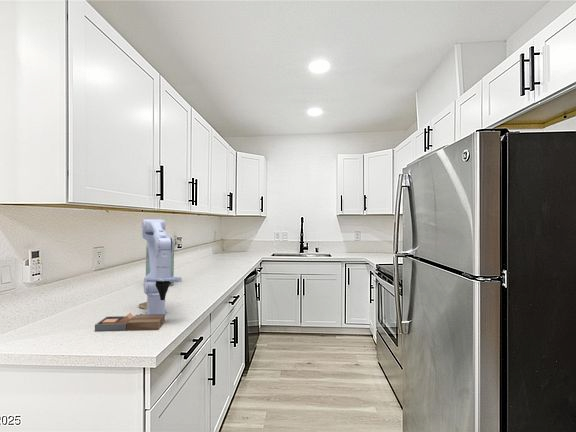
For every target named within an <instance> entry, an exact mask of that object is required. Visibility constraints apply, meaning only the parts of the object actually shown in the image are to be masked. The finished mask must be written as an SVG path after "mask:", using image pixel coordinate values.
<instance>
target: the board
mask: <svg viewBox="0 0 576 432" xmlns="http://www.w3.org/2000/svg"><path fill="white" fill-rule="evenodd" d="M133 316H134V317H133V318H132V319H131V320H129V321H128V322H127V330H126V331H127V332H128V331H158V330H159V329H160V328H162V326H163V325H164V323H165V321H166V318H165V316H166V313H165V314H151V315H145V314H135V315H133Z"/></svg>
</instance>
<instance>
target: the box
mask: <svg viewBox="0 0 576 432" xmlns="http://www.w3.org/2000/svg"><path fill="white" fill-rule="evenodd" d="M125 316H126V315H124V316H123V315H122V316H120V315H119V316H117V315H115V316H105V317H104V318H103V319H100V321H98V322H97V323H95V324H94V332H126V331H127V322H128V321H127V322H126V323H125V324H102V322H103V321H105V320H106V319H118V322H119V321H120V320H121V319H123V318H124V317H125ZM134 316H135V315H133V317H134ZM133 317H132V318H133ZM132 318H131V319H132ZM131 319H130V320H131Z"/></svg>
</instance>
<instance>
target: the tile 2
mask: <svg viewBox="0 0 576 432" xmlns="http://www.w3.org/2000/svg"><path fill="white" fill-rule="evenodd" d="M124 316H125V317H124V318H123V319H121V320H120V321H119V322H118V324H125V323H126V322H127V321H129V320H130V319H131V318H132V317H133V316H134V315H133V313H131V312H129V313H128V314H127V315H124Z"/></svg>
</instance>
